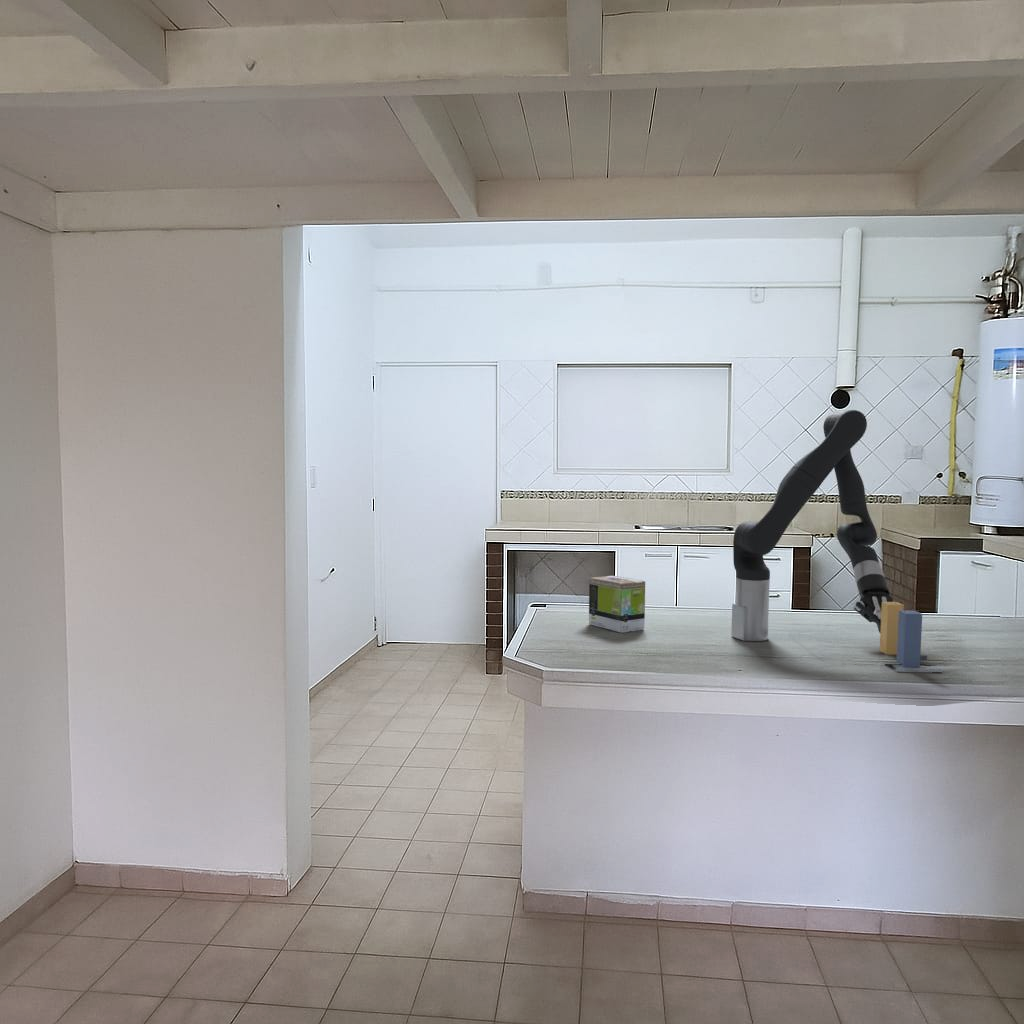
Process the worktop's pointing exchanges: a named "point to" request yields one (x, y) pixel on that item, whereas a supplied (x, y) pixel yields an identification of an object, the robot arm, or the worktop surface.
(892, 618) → the block
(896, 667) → the bolt plate
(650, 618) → the worktop surface
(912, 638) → the fixed leg
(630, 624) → the tea box
